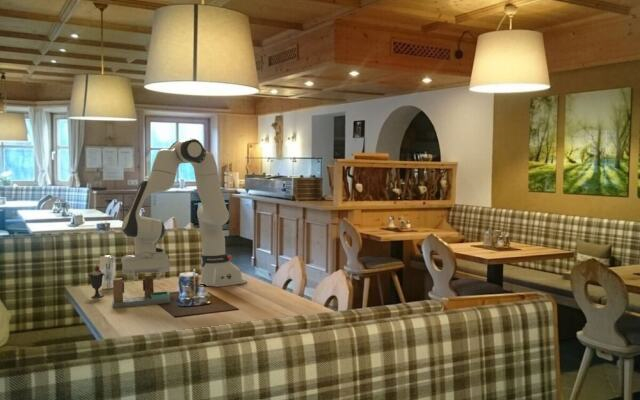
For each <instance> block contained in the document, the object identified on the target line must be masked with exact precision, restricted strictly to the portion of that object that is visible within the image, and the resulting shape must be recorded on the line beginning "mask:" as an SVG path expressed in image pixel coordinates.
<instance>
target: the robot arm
mask: <svg viewBox="0 0 640 400" xmlns="http://www.w3.org/2000/svg"><path fill="white" fill-rule="evenodd" d="M189 163H190V165H192V168H193V171H194V179H195V185H196V191H197V194H198V196H199V199H200V203H201V205H200V206H199V207H198V208H197V211H196V216H197V218H198V219H197V220H198V227H199V231H200V236H201V237H200V238H201V256H200V264H201V275H200V280H199V283H200V282H201V283H204V284H205V285H206V287H217V288H219V287H225V286H226V287H227V286H232V285H233V286H235V285H242V284H246V283H247V282H248V281H247V279H246V278H245V277H243V276H242V271H241V269H240V268H239V267H238V266H237V265H235V264H234V263H232V262H231V260H232V259H233V257H232V255H230V254H227V253H226V238H225V235H224V230H223V226H224V225H225V224H226V223H227V222H228V221H229V219H230V213H229V210H228V208H227V205H226V201H225V198H224V195H223V192H222V188H221V184H220V177H219V169H218V166H217V162H216V159H215V157H214V154H213V153H211V152H210V151H206V149H205V148H204V146H203V144H202V143H201V141H199V140H198V139H196V138H192V137H191V138H183V139H180V140H178V141H175V142H174V143H172V145H171V146H170V147H169V148H162V149H160V150H158V151H157V153H156V155H155V158H154V161H153V164H152V166H151V171H150V174H149V176H148V177H147V178H146V179H144V180H142V181H141V182H140V184H139V185H138V187H137V190H136V192H135V194H134V197H133V200H132V201H131V203H130V207H129V209H128V210H127V213H126V215H125V217H124V219H123V220H122V224H121V230H122V232H123V234H124V235H126V237H128V238H133V244H134V254H131V255H127V254H125V255H124V256H122V257H120V262H121V264H122V270H121V271H122V273H123V275H130V276H131V277H132V279H133V281H134V282H139V278H138V277H139V276H138V274H154V273H158V274H156V281H160V280H161V276H162V274H163V273H167V272H169V271H170V270H171V265H170V264H171V263H170V258H169V257H168V254H166V249H165V248H160V247H156V246H155V244H157V243H158V242H160V241H161V240H162V239H163V238H164V236H165V231H166V227H165V223H164V222H163V221H162V219H157V218H154V217H148V216H143V215H140V212H141V210H142V207H143V205H144V202H145V200H146V198H147V197H148V196H151V195H154V194H158V193H165V192H168V191H169V190H170V189H172V187H173V186H174V184H175V181H176V176H177V172H178V167H179V166H180V164H189Z"/></svg>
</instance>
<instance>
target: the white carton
mask: <svg viewBox="0 0 640 400" xmlns="http://www.w3.org/2000/svg"><path fill="white" fill-rule="evenodd" d="M99 269H100V270H101V272H103V273H104V275H103V278H102V286H101V289H102V290H110V289H111V288H112V289H113V279H114V278H115V273H116V256H115V255H110V254H109V255H100V256H99Z"/></svg>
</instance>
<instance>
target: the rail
mask: <svg viewBox="0 0 640 400" xmlns="http://www.w3.org/2000/svg"><path fill="white" fill-rule="evenodd" d="M112 289H113V290H112V292H113V294H112V295H113V299H112V308H113V309H117V308H129V307H131V308H132V307H139V306H149V305H162V304H171V294H170V292H169V291H168V290H167V291H165V290H164V291H157V292H156V291H155V292H152V293H150V296H147V297H145V296H139V297H126V298H124V293H125V281H124V280H123V278H122V277H118V278H117V277H116V278H115V277H114V279H113V288H112Z"/></svg>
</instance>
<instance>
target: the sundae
mask: <svg viewBox="0 0 640 400" xmlns="http://www.w3.org/2000/svg"><path fill="white" fill-rule="evenodd" d="M98 265H99V264H98V263H96V265H95V267H94V268H93V269H92V271H91V272H90V273H89V274H88V277H89V279H90V283H91V287H92V288H93V289H94V290H95V293H94V295H92V296H91V297H90V298H91V299H101V298H103V297H104V295H101V294H100V292H99V289H100V288H102V278H103V275H104V273H103V272H101V270H100V266H98Z"/></svg>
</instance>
